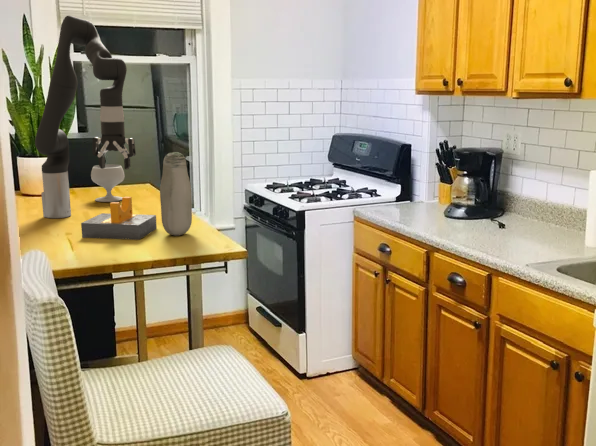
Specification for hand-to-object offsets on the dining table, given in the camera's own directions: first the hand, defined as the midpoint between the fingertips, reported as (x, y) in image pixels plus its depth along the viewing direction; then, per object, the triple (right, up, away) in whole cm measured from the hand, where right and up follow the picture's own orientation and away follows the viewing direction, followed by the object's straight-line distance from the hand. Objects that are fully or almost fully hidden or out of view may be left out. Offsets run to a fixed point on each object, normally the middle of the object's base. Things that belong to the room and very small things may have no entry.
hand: (114, 168), depth 217 cm
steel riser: (+1, -22, +4) cm, 22 cm away
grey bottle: (+21, -22, +2) cm, 31 cm away
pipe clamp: (+1, -17, +3) cm, 17 cm away
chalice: (-21, -8, +64) cm, 68 cm away
